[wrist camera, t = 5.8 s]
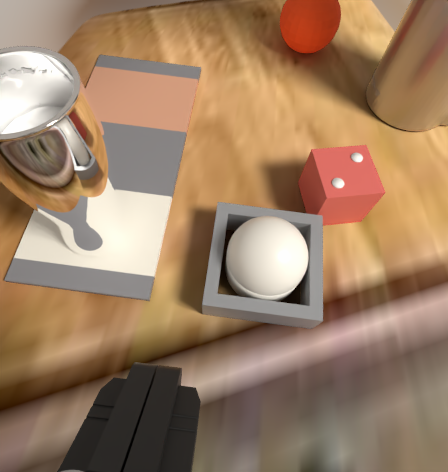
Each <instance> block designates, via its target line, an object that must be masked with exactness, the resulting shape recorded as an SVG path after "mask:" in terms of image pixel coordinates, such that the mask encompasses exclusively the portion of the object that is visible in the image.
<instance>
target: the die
mask: <svg viewBox="0 0 448 472" xmlns="http://www.w3.org/2000/svg"><path fill="white" fill-rule="evenodd" d="M298 185H299V188H300V192H301V196H302V199H303V203H304V206H305V210H306V213H307V214H314V215H322V216H323V225H333V224H342V223H352V222H361V221H362V220H363V218H364V217H365V216H366V215H367V214H368V213H369V211H370V210H371V209H372V208H373V207H374V205H375V204H376V203H377V202H378V201H379V200H380V198H381V197H382V196H383V195H384V194H385V190H384V188H383V185H382V183H381V180H380V178H379V175H378V173H377V170H376V168H375V165H374V163H373V160H372V158H371V156H370V153H369V151H368V148H367V146H366V145H360V146H348V147H336V148H323V149H312V150H311V152H310V155H309V157H308V159H307V162H306V164H305V167H304V169H303V172H302V174H301V176H300V179H299V181H298Z"/></svg>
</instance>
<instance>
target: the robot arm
mask: <svg viewBox="0 0 448 472" xmlns="http://www.w3.org/2000/svg"><path fill="white" fill-rule="evenodd" d="M366 99H367V103H368V105H369V106H370V108H371V110H372V111H373V112H374V113H375V114H376V115H377V116H378V117H379V118H380V119H381V120H383V121H384V122H386V123H388V124H389V125H392V126H394V127H396V128H399V129H403V130H407V131H425V130H429V129H432V128H434V127H436V126H439V125H446V126H448V0H411V3H410V4H409V6H408V8H407V10H406V12H405V14H404V16H403V18H402V20H401V21H400V23H399V25H398V28H397V29H396V31H395V33H394V35H393V37H392V39H391V41H390V43H389V45H388V47H387V49H386V51H385V53H384V55H383V57H382V59H381V61H380V63H379V65H378V67H377V68H376V70H375V72H374V74H373V76H372V79H371V81H370V83H369V85H368V87H367V89H366ZM181 376H182V368H177V367H169V366H161V365H159V366H158V365H152V364H144V363H136V362H135V363H134V364H133V366H132V368H131V370H130V372H129V375H128V377H127V379H120V378H113V379H112V380H111V381H110V382H108V383H107V384H106V385H105V386H104V387H103V388H102V389H101V390H100V392H99V393H98V395H97V397H96V399H95V401H94V403H93V406H92V407H91V409H90V411H89V413H88V415H87V418H86V419H85V420H84V422H83V424H82V426H81V428H80V430H79V432H78V434H77V436H76V438H75V440H74V441H73V443H72V445H71V447H70V449H69V451H68V453H67V455H66V457H65V459H64V461H63V463H62V464H61V466H60V468H59V470H58V471H57V472H192V465H193V458H194V451H195V443H196V435H197V427H198V418H199V410H200V399H199V396H198V393H197V390H196V388H193V387H185V386H181Z"/></svg>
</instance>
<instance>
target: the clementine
mask: <svg viewBox="0 0 448 472" xmlns="http://www.w3.org/2000/svg"><path fill="white" fill-rule="evenodd" d="M340 19H341V10H340V5H339V2H338V0H287V1H286V2H285V4H284V6H283V9H282V12H281V16H280V29H281V33H282V37H283V39H284V40H285V42H286V43H287V45H288V46H289V47H290V48H292V49H293V50H295V51H297V52H300V53H313V52H317V51H319V50H321V49H322V48H324V47H325V46H326V45H328V44H329V42H330V41H331V40H332V39H333V38H334V36H335V34H336V32H337V30H338V28H339V24H340Z"/></svg>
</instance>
